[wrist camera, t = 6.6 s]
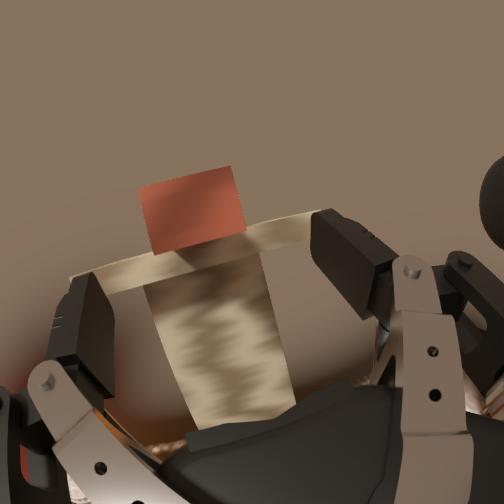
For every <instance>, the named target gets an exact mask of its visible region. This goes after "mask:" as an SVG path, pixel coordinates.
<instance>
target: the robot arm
mask: <svg viewBox="0 0 504 504" xmlns="http://www.w3.org/2000/svg"><path fill="white" fill-rule="evenodd" d="M479 202H480V203H479V207H480V216H481V220H482V223H483V226H484V228H485V230H486V232H487V234H488V235H489V237H490V238H491V239H492V241H493V242H494V243H495V244H496V245H497V246H499V248H501V249H503V250H504V156H503V157H502V158H500V159H499V160H497V161H496V162H495V163H494V164H493V165H492V166H491V167H490V169H489V170H488V172H487V174H486V175H485V178H484V180H483V183H482V187H481V191H480V200H479ZM310 239H311V241H310V250H311V255H312V258H313V260H314V262H315V264H316V265H317V266H318V267H319V268H320V270H321V271H322V272H323V273H324V274H325V276H326V277H327V278H328V279H329V280H330V281H331V283H332V284H333V285H334V286H335V287H336V289H337V290H338V291H339V292H340V293H341V294H342V296H343V297H344V298H345V299H346V301H347V302H348V303H349V304H350V305H351V307H352V308H353V309H354V310H355V311H356V313H357V314H358V315H359V316H360V318H361V319H362V320H366V319H368V318H370V317H372V316H375V317H376V318H377V322H376V331H375V332H376V333H375V349H374V364H373V371H372V376H371V379H370V383H369V385H356V386H352V384H351V383H350V381H349V380H348V378H347V377H346V378H344V379H343V380H340V381H338V382H336V383H334V384H331V385H329V386H327V387H325V388H322V389H320V390H318V391H316V392H313V393H311V394H309V395H308V396H307V397H305V398H304V399H302V400H301V401H300V402H298V403H297V404H295V405H294V406H292V407H291V408H289V409H288V410H287V411H285V412H284V413H282V414H281V415H279V416H278V417H276V418H273V419H269V420H260V421H249V422H236V423H224V424H221V425H217V426H213V427H210V428H206V429H202V430H198V431H193V432H189V433H185V437H186V441H187V444H186V445H184V446H182V447H180V448H179V449H177V450H176V451H174V452H173V453H172V454H170V455H169V456H168V457H167V458H166V459H165V460H164V461H163V462H161V461H160V460H159V459H157V458H156V457H155V456H154V455H152V454H151V453H150V452H149V451H147V450H146V449H145V448H144V447H142V446H141V445H140V444H139V443H138V442H137V441H136V440H135V439H134V438H133V437H132V436H131V435H130V434H129V433H128V432H127V431H126V430H124V428H123V427H122V426H121V425H120V424H119V423H118V422H117V421H116V420H115V419H114V418H113V417H112V416H111V415H110V414H109V413H108V412H107V410H105V409H104V399H108V398H114V397H115V384H114V325H115V318H114V313H113V309H112V307H111V304H110V302H109V300H108V299H107V297H106V295H105V293H104V291H103V289H102V287H101V285H100V283H99V281H98V279H97V277H96V276H95V274H94V273H93V272H89V273H86V274H83V275H79V276H76V277H73V279H72V281H71V285H70V289H69V292H68V294H65V295H64V297H63V298H62V300H61V301H60V303H59V304H58V306H57V309H56V313H55V319H54V321H53V326H52V327H53V329H52V330H51V335H50V339H49V344H48V350H47V355H46V360H45V361H44V362H42V363H40V364H39V365H38V366H36V368H35V369H34V370H33V371H32V373H31V374H30V377H29V380H28V387H26V388H25V389H23V390H21V391H19V392H17V393H15V394H13V395H12V394H11V393H10V392H9V391H8V390H7V389H5V388H4V387H1V386H0V504H72V503H71V497H70V492H69V486H68V479H67V473H68V474H69V476H70V477H71V478H72V480H73V481H74V482H75V484H76V485H77V486H78V487H79V489H80V490H81V491H82V492H83V494H84V495H85V496H86V497H87V499H88V500H89V501H90V502H91V503H92V504H504V284H503V283H502V282H501V281H500V280H499V279H498V278H497V277H496V276H495V275H494V274H493V273H492V272H491V271H490V270H488V269H487V268H486V267H485V266H484V265H483V264H482V263H481V262H479V261H478V260H477V259H476V258H475V257H474V256H472V255H470V254H468V253H466V252H462V251H453V252H451V253H450V254H449V255H448V258H447V261H446V264H445V265H439V266H430V265H429V264H428V263H427V262H425V261H424V260H423V259H421V258H418V257H415V256H409V255H406V256H399V255H397V254H396V253H395V252H394V251H393V250H391V249H390V248H389V247H388V246H387V245H385V244H384V243H383V242H382V241H381V240H379V239H378V238H377V237H376V238H375V236H374V235H373V234H372V233H371V232H368V230H367V229H366V228H365V227H363V226H362V225H361V224H359V223H358V222H355V221H353V220H350V219H348V218H344V217H343V216H342V215H340V214H339V213H338V212H336V211H335V210H334V209H332V208H330V209H326V210H322V211H318V212H314V213H312V215H311V234H310ZM468 301H469V302H470V303H471V304H472V305H473V306H474V307H475V308H476V309H477V310H478V311H479V312H480V313H481V314H482V315H483V316H484V318H485V319H486V322H487V330H486V332H485V334H484V335H483V334H482V333H481V332H480V331H479V329H478V328H477V327H476V326H475V325H474V324H473V323H472V322H471V320H470V319H469V318H468V317H467V316H466V315H465V314H464V313H463V310H464V308H465V306H466V304H467V302H468ZM462 368H463V369H464V371H465V372H466V373H467V375H468V376H469V377H470V379H471V380H472V381H473V383H474V384H475V386H476V387H477V388H478V390H479V391H480V393H481V394H482V396H483V397H484V398H485V400H486V406H485V407H484V408H483V416H482V415H478V414H474V413H471V412H467V411H465V393H464V381H463V372H462ZM20 445H22V446H24V447H25V448H27V451H28V469H29V482H30V484H29V483H28V482H27V481H26V480H25V479H24V478H23V475H22V473H21V464H20ZM66 471H67V472H66Z"/></svg>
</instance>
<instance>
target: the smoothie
mask: <svg viewBox="0 0 504 504" xmlns="http://www.w3.org/2000/svg"><path fill="white" fill-rule="evenodd" d="M67 479H68V486H69V492H70V497H71V501H72V502H75V503H77V504H92V503H91V502H90V501H89V500H88V499H87V497H86V496H85V495H84V494H83V492H82V491H81V490H80V489H79V487H78V486H77V485H76V484H75V482H74V481H73V480H72V478H71V477H70V476H69V474H68V473H67Z"/></svg>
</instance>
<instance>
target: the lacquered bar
mask: <svg viewBox="0 0 504 504" xmlns="http://www.w3.org/2000/svg"><path fill="white" fill-rule="evenodd" d="M138 190H139V195H140V200H141V204H142V208H143V213H144V218H145V221H146V226H147V230H148V234H149V238H150V242H151V246H152V250H153V254H154V256H155V255H159V254H163V253H166V252H170V251H173V250H177V249H181V248H184V247H188V246H192V245H195V244H199V243H203V242H207V241H210V240H214V239H218V238H222V237H225V236H229V235H233V234H237V233H241V232H245V231H247V228H246V224H245V220H244V216H243V212H242V209H241V205H240V201H239V197H238V193H237V189H236V185H235V181H234V177H233V173H232V169H231V166H227V167H223V168H218V169H213V170H209V171H205V172H200V173H196V174H192V175H188V176H184V177H180V178H176V179H172V180H168V181H164V182H160V183H157V184H154V185H150V186H146V187H143V188H139V189H138Z"/></svg>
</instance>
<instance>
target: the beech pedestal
mask: <svg viewBox="0 0 504 504" xmlns="http://www.w3.org/2000/svg"><path fill="white" fill-rule="evenodd" d="M318 211H321V210H316V211H311V212H306V213H302V214H297V215H292V216H288V217H283V218H279V219H274V220H270V221H266V222H262V223H258V224H254V225H250V226H246V228H247V231H245V232H241V233H237V234H233V235H229V236H225V237H222V238H218V239H214V240H210V241H207V242H203V243H199V244H195V245H192V246H188V247H184V248H181V249H177V250H173V251H170V252H166V253H163V254H159V255H155V256H154V254H153V251H152V252H149V253H145V254H142V255H138V256H135V257H131V258H128V259H125V260H121V261H117V262H114V263H111V264H108V265H105V266H102V267H99V268H96V269H93V270H90V271H87V272H84V273H81V274H78V275H75V276H72V277H69V279H70V283H71V281H72V279H73V277H76V276H79V275H83V274H86V273H89V272H93V273H94V274H95V276H96V277H97V279H98V281H99V283H100V285H101V287H102V289H103V291H104V293H105V295H109V294H112V293H116V292H119V291H123V290H127V289H131V288H134V287H138V286H141V285H143V288H144V291H145V294H146V297H147V300H148V304H149V307H150V310H151V313H152V316H153V319H154V321H155V324H156V328H157V330H158V333H159V336H160V339H161V342H162V344H163V347H164V350H165V352H166V355H167V358H168V360H169V363H170V365H171V368H172V370H173V373H174V375H175V378H176V380H177V382H178V385H179V387H180V390H181V392H182V394H183V397H184V399H185V401H186V403H187V405H188V408H189V410H190V412H191V414H192V416H193V419H194V421H195V423H196V425H197V427H198V429H199V430H202V429H206V428H210V427H213V426H217V425H221V424H224V423H236V422H249V421H260V420H269V419H273V418H276V417H278V416H279V415H281V414H282V413H284V412H285V411H287V410H288V409H289V408H291V407H292V406H294V405H295V404H296V401H295V397H294V393H293V389H292V385H291V380H290V376H289V372H288V368H287V364H286V360H285V356H284V352H283V348H282V344H281V340H280V335H279V331H278V327H277V323H276V320H275V315H274V311H273V307H272V303H271V299H270V295H269V291H268V287H267V283H266V279H265V275H264V271H263V267H262V263H261V259H260V255H259V253H261V252H265V251H268V250H272V249H275V248H279V247H282V246H286V245H289V244H293V243H296V242H300V241H304V240H308V239H310V234H311V215H312V213H314V212H318Z"/></svg>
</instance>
